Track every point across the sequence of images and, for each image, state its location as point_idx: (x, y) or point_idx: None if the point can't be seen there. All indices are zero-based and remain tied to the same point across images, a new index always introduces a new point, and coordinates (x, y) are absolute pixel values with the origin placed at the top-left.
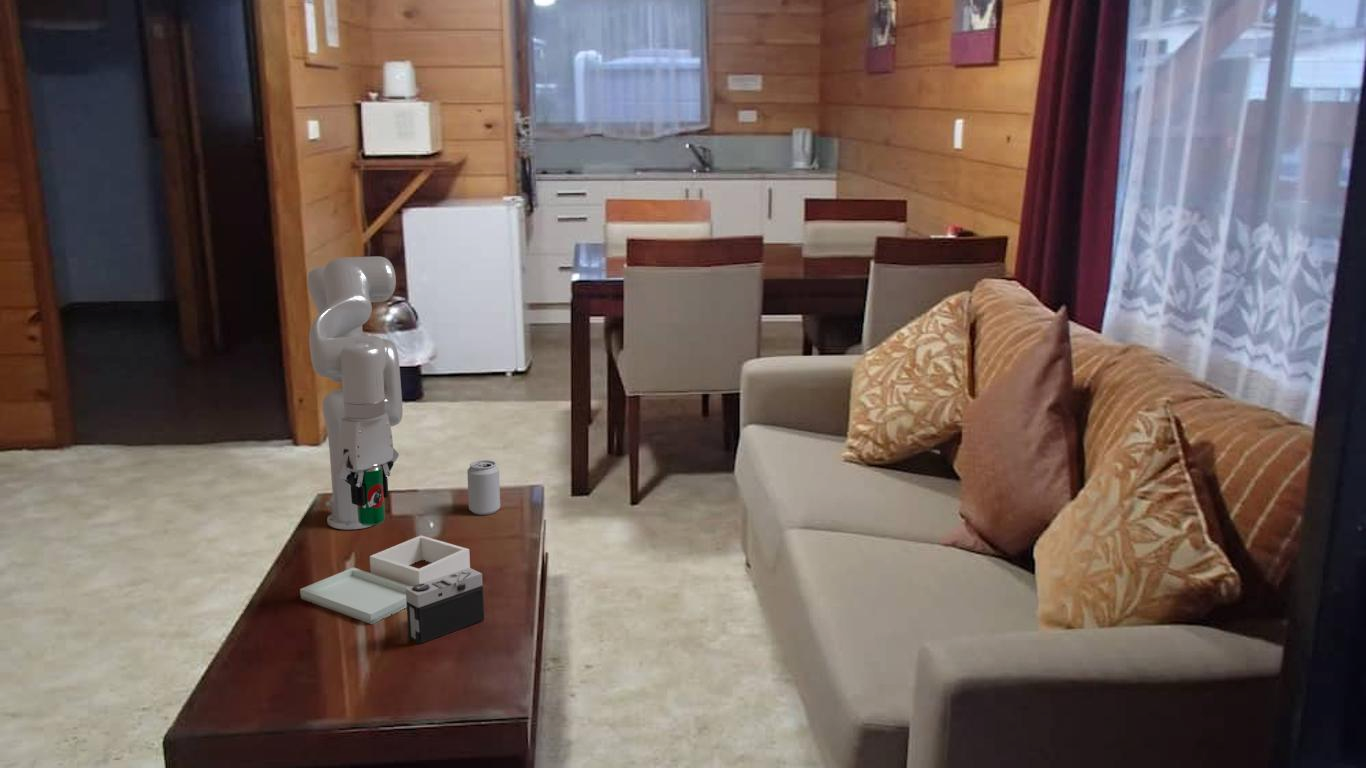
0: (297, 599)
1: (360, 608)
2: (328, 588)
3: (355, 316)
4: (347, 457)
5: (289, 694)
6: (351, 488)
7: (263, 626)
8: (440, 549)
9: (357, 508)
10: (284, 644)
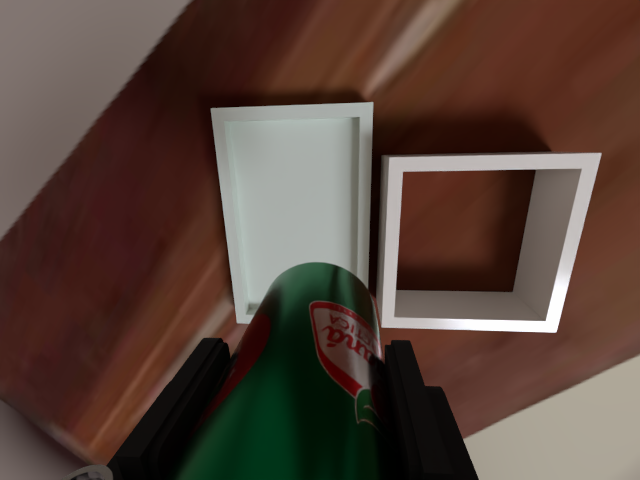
0: (214, 106)
1: (239, 291)
2: (276, 133)
3: None
4: None
5: (56, 368)
6: (116, 461)
7: (108, 163)
8: (550, 241)
9: (252, 318)
10: (108, 253)
